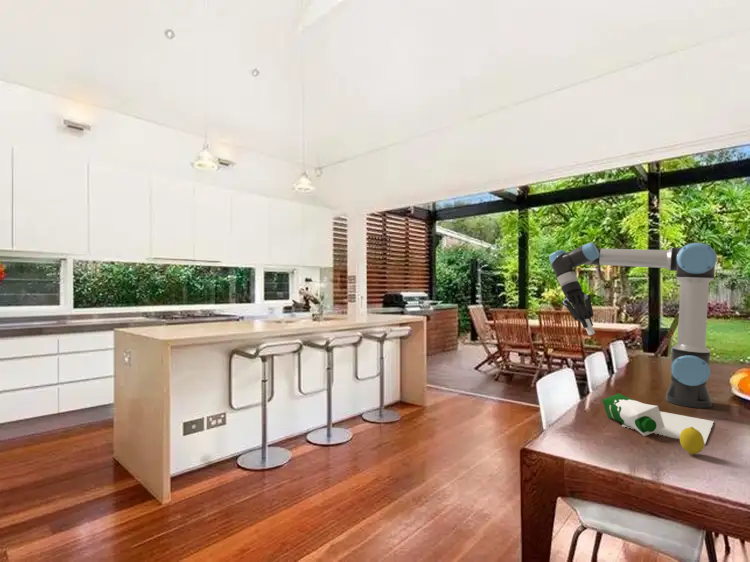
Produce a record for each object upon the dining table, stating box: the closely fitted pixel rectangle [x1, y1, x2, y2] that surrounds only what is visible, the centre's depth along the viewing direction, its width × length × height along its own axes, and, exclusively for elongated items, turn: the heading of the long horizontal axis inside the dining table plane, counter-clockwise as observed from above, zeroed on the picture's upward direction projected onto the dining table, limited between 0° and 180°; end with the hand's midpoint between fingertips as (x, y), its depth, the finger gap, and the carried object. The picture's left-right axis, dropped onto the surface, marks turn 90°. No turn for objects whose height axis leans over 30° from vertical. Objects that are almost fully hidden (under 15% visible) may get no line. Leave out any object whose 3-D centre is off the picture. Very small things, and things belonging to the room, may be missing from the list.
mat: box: [621, 410, 715, 446], centre depth 145 cm, size 22×28×1 cm
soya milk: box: [601, 392, 665, 437], centre depth 142 cm, size 9×9×20 cm
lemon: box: [679, 427, 705, 456], centre depth 120 cm, size 6×6×8 cm
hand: (591, 334), depth 176 cm, fingers closed
